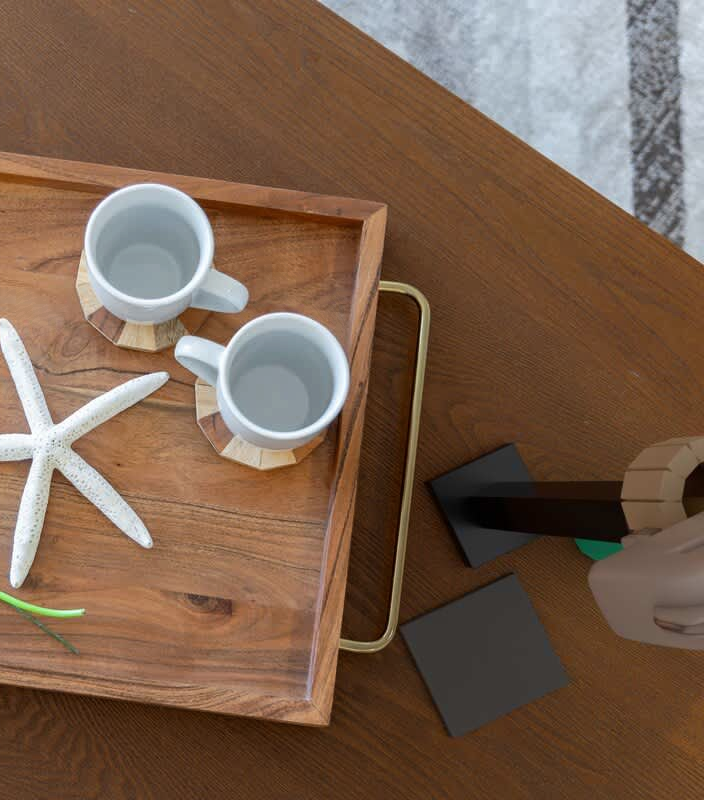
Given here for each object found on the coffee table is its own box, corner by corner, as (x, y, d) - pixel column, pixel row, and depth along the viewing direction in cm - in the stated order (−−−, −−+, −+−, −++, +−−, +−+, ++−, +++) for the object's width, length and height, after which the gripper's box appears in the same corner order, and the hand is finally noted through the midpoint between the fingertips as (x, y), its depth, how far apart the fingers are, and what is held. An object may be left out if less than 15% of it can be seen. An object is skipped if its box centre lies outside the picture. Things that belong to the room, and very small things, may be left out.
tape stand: (548, 528, 75) (857, 556, 45) (465, 567, 75) (719, 623, 44) (506, 443, 76) (781, 414, 45) (423, 481, 76) (644, 479, 45)
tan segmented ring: (758, 541, 50) (808, 545, 46) (644, 574, 49) (686, 581, 46) (717, 425, 50) (763, 420, 47) (604, 457, 50) (642, 455, 46)
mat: (567, 681, 74) (570, 682, 74) (450, 737, 74) (453, 739, 73) (512, 571, 75) (516, 572, 74) (397, 626, 75) (399, 627, 74)
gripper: (750, 714, 34) (562, 648, 48) (1202, 493, 35) (890, 491, 49) (673, 564, 35) (509, 541, 48) (1120, 350, 35) (835, 387, 49)
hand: (703, 515), depth 49 cm, fingers closed on tan segmented ring, 7 cm apart
